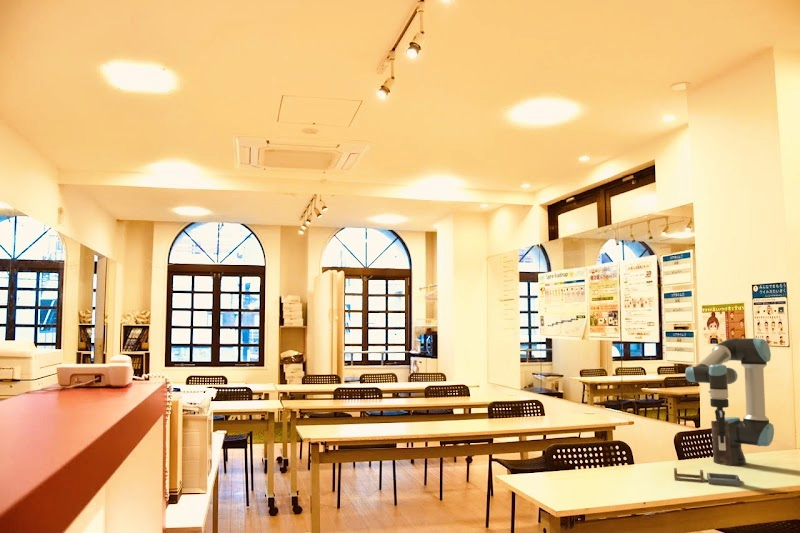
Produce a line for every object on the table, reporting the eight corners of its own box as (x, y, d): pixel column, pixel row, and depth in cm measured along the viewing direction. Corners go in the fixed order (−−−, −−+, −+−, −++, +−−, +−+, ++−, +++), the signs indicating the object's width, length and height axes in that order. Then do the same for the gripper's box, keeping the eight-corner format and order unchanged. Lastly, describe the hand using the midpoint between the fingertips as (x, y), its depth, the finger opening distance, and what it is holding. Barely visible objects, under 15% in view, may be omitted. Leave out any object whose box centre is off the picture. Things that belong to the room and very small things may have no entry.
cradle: (674, 475, 308) (673, 466, 308) (702, 477, 303) (702, 468, 303) (674, 480, 298) (674, 471, 299) (704, 482, 293) (703, 473, 294)
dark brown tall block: (712, 465, 293) (710, 420, 295) (713, 462, 300) (711, 418, 302) (731, 466, 290) (729, 421, 292) (731, 463, 296) (729, 419, 298)
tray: (706, 477, 303) (706, 472, 303) (737, 480, 298) (737, 474, 298) (708, 484, 291) (708, 478, 291) (740, 486, 286) (740, 481, 286)
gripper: (708, 395, 308) (711, 444, 306) (711, 400, 290) (714, 452, 288) (726, 396, 306) (728, 445, 303) (730, 400, 287) (732, 453, 285)
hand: (721, 448), depth 296 cm, fingers closed on dark brown tall block, 7 cm apart
